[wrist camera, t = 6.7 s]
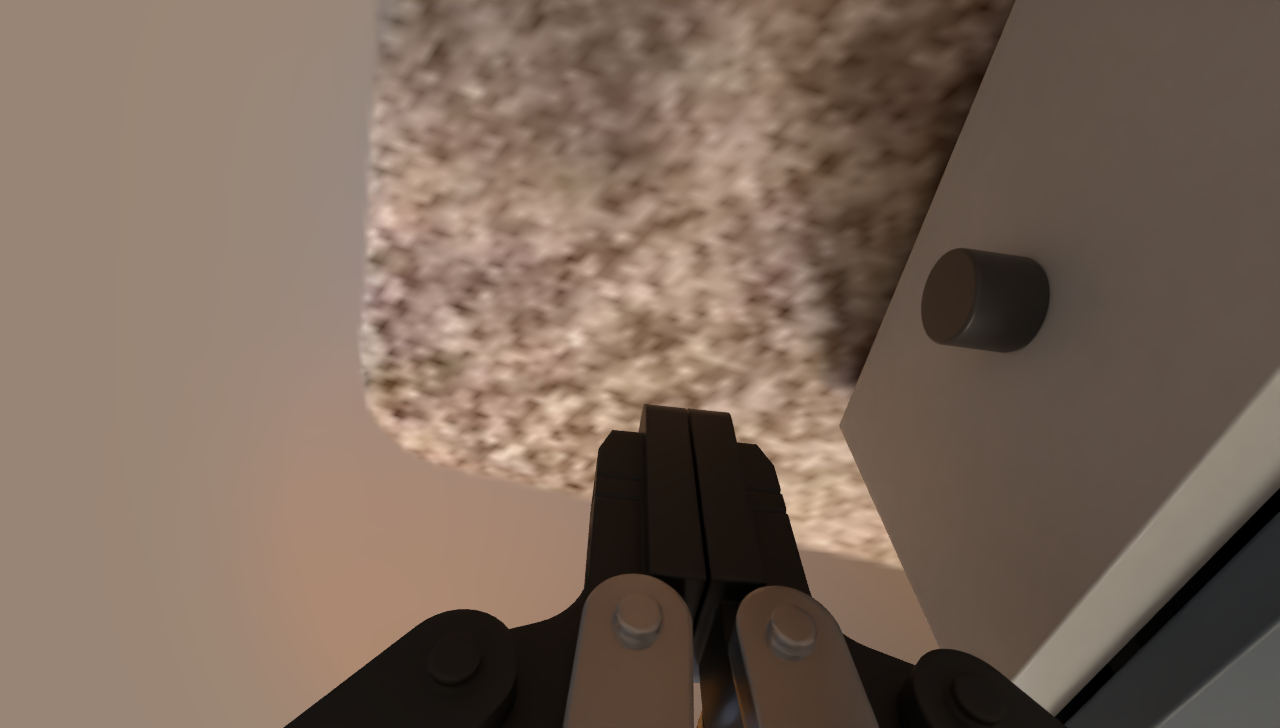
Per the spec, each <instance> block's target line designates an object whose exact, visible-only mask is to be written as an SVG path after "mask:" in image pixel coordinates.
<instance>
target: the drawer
mask: <svg viewBox="0 0 1280 728" xmlns="http://www.w3.org/2000/svg"><path fill="white" fill-rule="evenodd" d="M840 428H841V431H842V433H843V435H844V437H845V440H846V442H847V444H848V446H849V448H850V451H851V453H852V455H853V457H854V460H855V462H856V464H857V466H858V468H859V471H860V473H861V475H862V477H863V480H864V482H865V484H866V486H867V488H868V491H869V493H870V495H871V497H872V499H873V502H874V504H875V506H876V508H877V511H878V513H879V515H880V517H881V519H882V522H883V524H884V526H885V528H886V531H887V533H888V535H889V537H890V539H891V542H892V544H893V546H894V548H895V551H896V553H897V555H898V557H899V559H900V562H901V564H902V566H903V568H904V571H905V573H906V575H907V577H908V579H909V582H910V584H911V586H912V588H913V590H914V593H915V595H916V597H917V599H918V602H919V604H920V606H921V608H922V610H923V613H924V615H925V617H926V619H927V622H928V623H929V626H930V628H931V630H932V633H933V635H934V637H935V639H936V641H937V644H938V646H939V648H940V649H954V650H959V651H962V652H966V653H969V654H971V655H973V656H975V657H977V658H980V659H981V660H983V661H985V662H986V663H988V664H990V665H991V666H992V667H994V668H995V669H996V670H998V671H999V672H1000V673H1002V674H1003V675H1004V676H1005V677H1006V678H1008V679H1009V680H1010V681H1011V682H1012V683H1014V684H1015V685H1016V686H1017V687H1019V688H1020V689H1021V690H1022V691H1023V692H1025V693H1026V694H1027V695H1028V696H1030V697H1031V698H1032V699H1033V700H1034V701H1036V702H1037V703H1038V704H1039V705H1041V706H1042V707H1043V708H1044V709H1045V710H1047V711H1048V712H1049V713H1050V714H1052V715H1053V716H1054V717H1055V716H1056V715H1057V714H1058V713H1059V712H1060V711H1061V710H1062V709H1063V708H1064V707H1065V706H1066V705H1067V704H1068V703H1069V702H1070V701H1071V700H1072V699H1073V698H1074V697H1075V696H1076V695H1077V694H1078V693H1079V692H1080V691H1081V690H1082V689H1083V688H1084V687H1085V686H1086V685H1087V684H1088V683H1089V682H1090V681H1091V680H1092V679H1093V677H1094V676H1095V675H1096V674H1097V673H1098V672H1099V671H1100V670H1101V669H1102V668H1103V667H1104V666H1105V665H1106V664H1107V663H1108V664H1109V666H1110V667H1111V669H1112V670H1113V672H1114V673H1115V674H1116V673H1117V672H1118V671H1119V670H1120V669H1121V668H1122V667H1123V666H1124V665H1125V664H1126V663H1127V662H1128V661H1129V660H1130V659H1131V658H1132V657H1133V656H1134V655H1135V654H1136V653H1137V652H1138V651H1139V650H1140V649H1141V648H1142V647H1143V646H1144V645H1145V644H1146V643H1147V642H1148V641H1149V640H1150V639H1151V638H1152V637H1153V636H1154V635H1155V634H1156V633H1157V632H1158V631H1159V630H1160V629H1161V628H1162V627H1163V626H1164V625H1165V624H1166V623H1167V622H1168V621H1169V620H1170V619H1171V618H1172V617H1173V616H1174V615H1175V614H1176V613H1177V612H1178V611H1179V610H1180V609H1181V608H1182V607H1183V606H1184V605H1185V604H1186V603H1188V602H1189V601H1190V600H1191V599H1192V598H1193V597H1194V596H1195V595H1196V594H1197V593H1198V592H1199V591H1200V590H1201V589H1202V588H1203V587H1204V586H1205V585H1206V584H1207V583H1208V582H1209V581H1210V580H1211V579H1212V578H1213V577H1214V576H1215V575H1216V574H1217V573H1218V572H1219V571H1220V570H1221V569H1222V568H1223V567H1224V566H1225V565H1226V564H1227V563H1228V562H1229V561H1230V560H1231V559H1232V558H1233V557H1234V556H1235V555H1236V554H1237V553H1238V552H1239V551H1240V550H1241V549H1242V548H1243V547H1244V546H1245V545H1246V544H1247V543H1248V542H1249V541H1250V540H1251V539H1252V538H1253V537H1254V536H1255V535H1256V534H1257V533H1258V532H1259V531H1260V530H1261V529H1262V528H1263V527H1264V526H1265V525H1266V524H1267V523H1268V522H1270V521H1271V520H1272V519H1273V518H1274V517H1275V516H1276V515H1277V514H1278V513H1279V512H1280V0H1016V1H1015V3H1014V5H1013V8H1012V10H1011V13H1010V15H1009V18H1008V20H1007V22H1006V25H1005V27H1004V30H1003V32H1002V34H1001V37H1000V39H999V42H998V44H997V46H996V49H995V51H994V54H993V56H992V59H991V61H990V63H989V66H988V68H987V71H986V73H985V75H984V78H983V80H982V83H981V85H980V87H979V90H978V92H977V95H976V97H975V100H974V102H973V104H972V107H971V109H970V112H969V114H968V116H967V119H966V121H965V124H964V126H963V128H962V131H961V133H960V136H959V138H958V141H957V143H956V145H955V148H954V150H953V153H952V155H951V157H950V160H949V162H948V165H947V167H946V169H945V172H944V174H943V177H942V179H941V182H940V184H939V186H938V189H937V191H936V194H935V196H934V198H933V201H932V203H931V206H930V208H929V210H928V213H927V215H926V218H925V220H924V223H923V225H922V227H921V230H920V232H919V235H918V237H917V239H916V242H915V244H914V247H913V249H912V251H911V254H910V256H909V259H908V261H907V264H906V266H905V268H904V271H903V273H902V276H901V278H900V280H899V283H898V285H897V288H896V290H895V293H894V295H893V297H892V300H891V302H890V305H889V307H888V309H887V312H886V314H885V317H884V319H883V321H882V324H881V326H880V329H879V331H878V334H877V336H876V338H875V341H874V343H873V346H872V348H871V350H870V353H869V355H868V358H867V360H866V362H865V365H864V367H863V370H862V372H861V375H860V377H859V379H858V382H857V384H856V387H855V389H854V391H853V394H852V396H851V399H850V401H849V403H848V406H847V408H846V411H845V413H844V416H843V418H842V420H841V423H840Z"/></svg>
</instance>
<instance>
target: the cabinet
mask: <svg viewBox="0 0 1280 728" xmlns="http://www.w3.org/2000/svg"><path fill="white" fill-rule="evenodd" d="M1055 718H1056V719H1058V720H1059V721H1060V722H1061V723H1062V724H1064V725H1065V726H1066V727H1067V728H1280V512H1279V513H1278V514H1277V515H1276V516H1275V517H1274V518H1273V519H1272V520H1271V521H1270V522H1268V523H1267V524H1266V525H1265V526H1264V527H1263V528H1262V529H1261V530H1260V531H1259V532H1258V533H1257V534H1256V535H1255V536H1254V537H1253V538H1252V539H1251V540H1250V541H1249V542H1248V543H1247V544H1246V545H1245V546H1244V547H1243V548H1242V549H1241V550H1240V551H1239V552H1238V553H1237V554H1236V555H1235V556H1234V557H1233V558H1232V559H1231V560H1230V561H1229V562H1228V563H1227V564H1226V565H1225V566H1224V567H1223V568H1222V569H1221V570H1220V571H1219V572H1218V573H1217V574H1216V575H1215V576H1214V577H1213V578H1212V579H1211V580H1210V581H1209V582H1208V583H1207V584H1206V585H1205V586H1204V587H1203V588H1202V589H1201V590H1200V591H1199V592H1198V593H1197V594H1196V595H1195V596H1194V597H1193V598H1192V599H1191V600H1190V601H1189V602H1188V603H1186V604H1185V605H1184V606H1183V607H1182V608H1181V609H1180V610H1179V611H1178V612H1177V613H1176V614H1175V615H1174V616H1173V617H1172V618H1171V619H1170V620H1169V621H1168V622H1167V623H1166V624H1165V625H1164V626H1163V627H1162V628H1161V629H1160V630H1159V631H1158V632H1157V633H1156V634H1155V635H1154V636H1153V637H1152V638H1151V639H1150V640H1149V641H1148V642H1147V643H1146V644H1145V645H1144V646H1143V647H1142V648H1141V649H1140V650H1139V651H1138V652H1137V653H1136V654H1135V655H1134V656H1133V657H1132V658H1131V659H1130V660H1129V661H1128V662H1127V663H1126V664H1125V665H1124V666H1123V667H1122V668H1121V669H1120V670H1119V671H1118V672H1117V673H1116V674H1115V673H1114V672H1113V670H1112V669H1111V667H1110V666H1109V664H1108V663H1107V664H1106V665H1105V666H1104V667H1103V668H1102V669H1101V670H1100V671H1099V672H1098V673H1097V674H1096V675H1095V676H1094V677H1093V679H1092V680H1091V681H1090V682H1089V683H1088V684H1087V685H1086V686H1085V687H1084V688H1083V689H1082V690H1081V691H1080V692H1079V693H1078V694H1077V695H1076V696H1075V697H1074V698H1073V699H1072V700H1071V701H1070V702H1069V703H1068V704H1067V705H1066V706H1065V707H1064V708H1063V709H1062V710H1061V711H1060V712H1059V713H1058V714H1057V715H1056V716H1055Z"/></svg>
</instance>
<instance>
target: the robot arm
mask: <svg viewBox="0 0 1280 728" xmlns="http://www.w3.org/2000/svg"><path fill="white" fill-rule="evenodd" d="M780 491H781V489H780V485H779V482H778V478H777V475H776V471H775V468H774V465H773V464H772V463H771V462H770V460H769V459H768V458H767V457H766V455H765V454H764V453H763V452H762V451H761V449H760V448H759V447H758V446H757V445H756V444H746V443H737V441H736V436H735V432H734V427H733V423H732V418H731V415H730V414H729V413H726V412H716V411H707V410H697V409H687V411H686V409H685V408H677V407H667V406H658V405H648V404H644V406H643V410H642V416H641V421H640V427H639V433H637V432H627V431H617V430H612V431H611V433H610V434H609V435H608V437H607V438H606V439H605V441H604V442H603V444H602V445H601V446H600V448H599V450H598V458H597V466H596V473H595V481H594V489H593V497H592V504H591V512H590V524H589V537H588V549H587V560H586V571H585V584H584V590H583V591H582V593H581V595H580V596H579V597H578V598H577V600H576V601H575V602H574V603H573V604H572V605H571V606H570V607H569V608H567V609H566V610H565V611H563V612H562V613H560V614H558V615H556V616H554V617H552V618H550V619H548V620H544V621H541V622H537V623H533V624H529V625H525V626H520V627H516V628H512V629H508V628H507V627H506V626H505V625H504V623H502V622H501V621H500V620H498V619H497V618H496V617H494V616H491V615H490V614H488V613H484V612H481V611H478V610H469V609H458V610H452V611H446V612H443V613H440V614H437V615H435V616H433V617H431V618H428V619H427V620H425V621H423V622H422V623H420V624H419V625H418V626H416V627H415V628H413V629H412V630H411V631H410V632H408V633H407V634H405V635H404V636H403V637H401V638H400V639H399V640H398V641H396V642H395V643H394V644H392V645H391V646H390V647H388V648H387V649H386V650H384V651H383V652H382V653H381V654H379V655H378V656H377V657H375V658H374V659H373V660H371V661H370V662H369V663H367V664H366V665H365V666H364V667H362V668H361V669H360V670H358V671H357V672H356V673H354V674H353V675H352V676H351V677H349V678H348V679H347V680H346V681H344V682H343V683H341V684H340V685H339V686H337V687H336V688H335V689H333V690H332V691H331V692H330V693H328V694H327V695H326V696H324V697H323V698H322V699H320V700H319V701H318V702H316V703H315V704H314V705H313V706H311V707H310V708H309V709H307V710H306V711H305V712H303V713H302V714H301V715H299V716H298V717H297V718H296V719H294V720H293V721H292V722H290V723H289V724H288V725H286V726H285V727H284V728H694V707H693V706H694V705H693V704H694V703H693V701H694V700H693V682H695V683H700V688H701V699H702V712H701V715H700V718H699V720H698V724H697V728H1067V727H1066V726H1065V725H1064V724H1062V723H1061V722H1060V721H1059V720H1058V719H1056V718H1055V717H1054V716H1053V715H1052V714H1050V713H1049V712H1048V711H1047V710H1045V709H1044V708H1043V707H1042V706H1041V705H1039V704H1038V703H1037V702H1036V701H1034V700H1033V699H1032V698H1031V697H1030V696H1028V695H1027V694H1026V693H1025V692H1023V691H1022V690H1021V689H1020V688H1019V687H1017V686H1016V685H1015V684H1014V683H1012V682H1011V681H1010V680H1009V679H1008V678H1006V677H1005V676H1004V675H1003V674H1002V673H1000V672H999V671H998V670H996V669H995V668H994V667H992V666H991V665H990V664H988V663H986V662H985V661H983V660H981V659H980V658H977V657H975V656H973V655H971V654H969V653H966V652H962V651H959V650H954V649H936V650H932V651H930V652H928V653H926V654H925V655H923V656H922V657H921V658H920V660H919V661H918V662H917V664H916V665H913V664H910V663H907V662H905V661H903V660H900V659H897V658H894V657H892V656H889V655H887V654H884V653H882V652H879V651H876V650H874V649H871V648H868V647H866V646H863V645H862V644H859V643H857V642H855V641H854V640H852V639H850V638H849V637H847V636H846V635H844V634H843V633H842V631H841V629H840V627H839V625H838V623H837V622H836V620H835V619H834V617H833V616H832V615H831V613H830V612H829V611H828V610H827V609H826V608H825V607H824V606H823V605H822V604H821V603H819V602H818V601H816V600H815V599H814V598H812V596H811V593H810V591H809V587H808V584H807V580H806V577H805V573H804V570H803V566H802V563H801V559H800V556H799V552H798V549H797V545H796V542H795V538H794V534H793V531H792V527H791V524H790V520H789V517H788V514H786V506H785V503H784V499H783V496H782V494H780Z"/></svg>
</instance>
